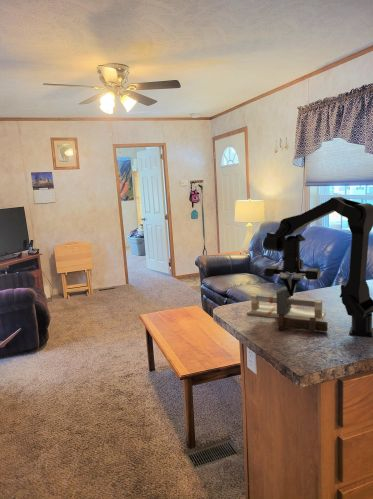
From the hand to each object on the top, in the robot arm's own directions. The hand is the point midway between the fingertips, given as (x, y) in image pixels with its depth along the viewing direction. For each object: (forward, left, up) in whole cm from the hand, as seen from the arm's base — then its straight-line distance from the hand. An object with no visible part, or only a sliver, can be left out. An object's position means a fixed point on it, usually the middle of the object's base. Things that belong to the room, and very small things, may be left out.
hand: (291, 295), depth 135 cm
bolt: (-14, -7, -7) cm, 17 cm away
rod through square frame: (0, +2, -7) cm, 7 cm away
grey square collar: (0, +3, -7) cm, 8 cm away
